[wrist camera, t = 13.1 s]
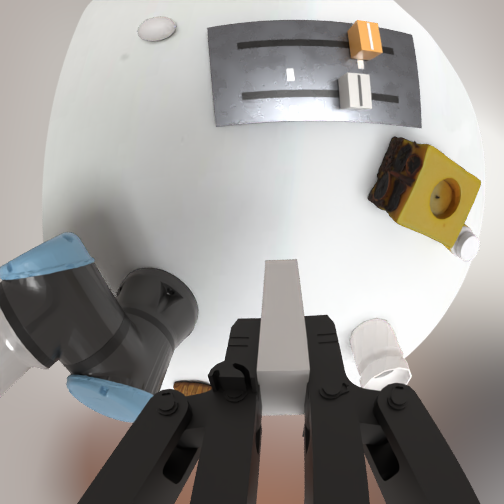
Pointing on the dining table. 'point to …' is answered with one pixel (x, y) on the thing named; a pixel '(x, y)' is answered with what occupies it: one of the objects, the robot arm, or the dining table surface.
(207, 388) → the croissant
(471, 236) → the supplement bottle
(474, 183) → the candle
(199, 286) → the dining table surface
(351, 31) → the fader
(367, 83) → the fader
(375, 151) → the dining table surface
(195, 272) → the dining table surface
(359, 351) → the vase
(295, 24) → the console
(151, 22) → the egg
